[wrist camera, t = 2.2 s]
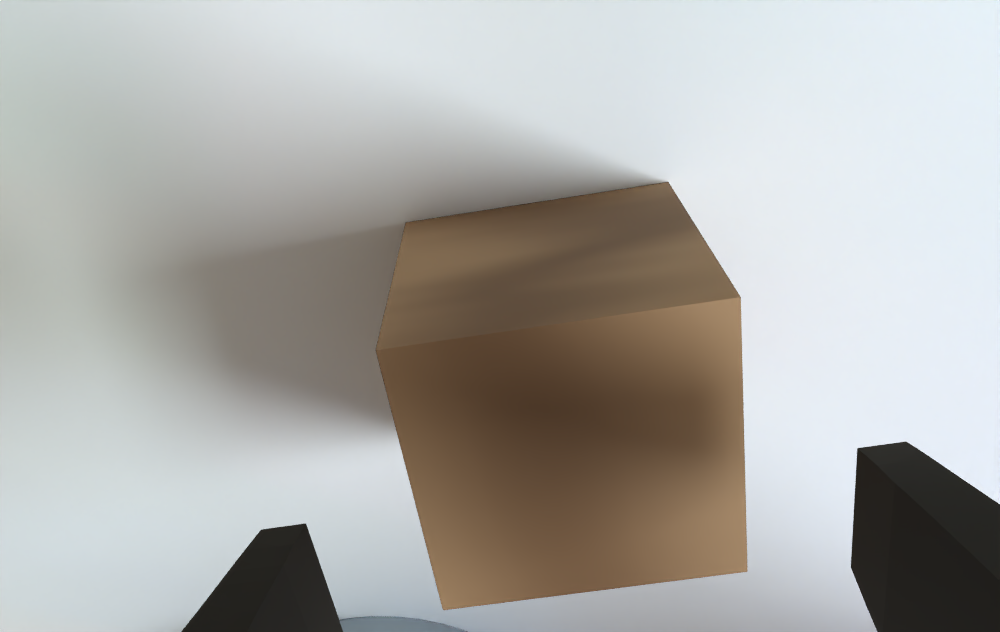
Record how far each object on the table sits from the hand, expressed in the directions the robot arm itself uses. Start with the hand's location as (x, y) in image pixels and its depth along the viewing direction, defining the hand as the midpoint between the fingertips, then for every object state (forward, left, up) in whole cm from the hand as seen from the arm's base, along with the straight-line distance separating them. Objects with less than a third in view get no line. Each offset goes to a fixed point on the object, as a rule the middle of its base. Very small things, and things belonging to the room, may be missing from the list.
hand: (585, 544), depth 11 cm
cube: (0, 0, -7) cm, 7 cm away
